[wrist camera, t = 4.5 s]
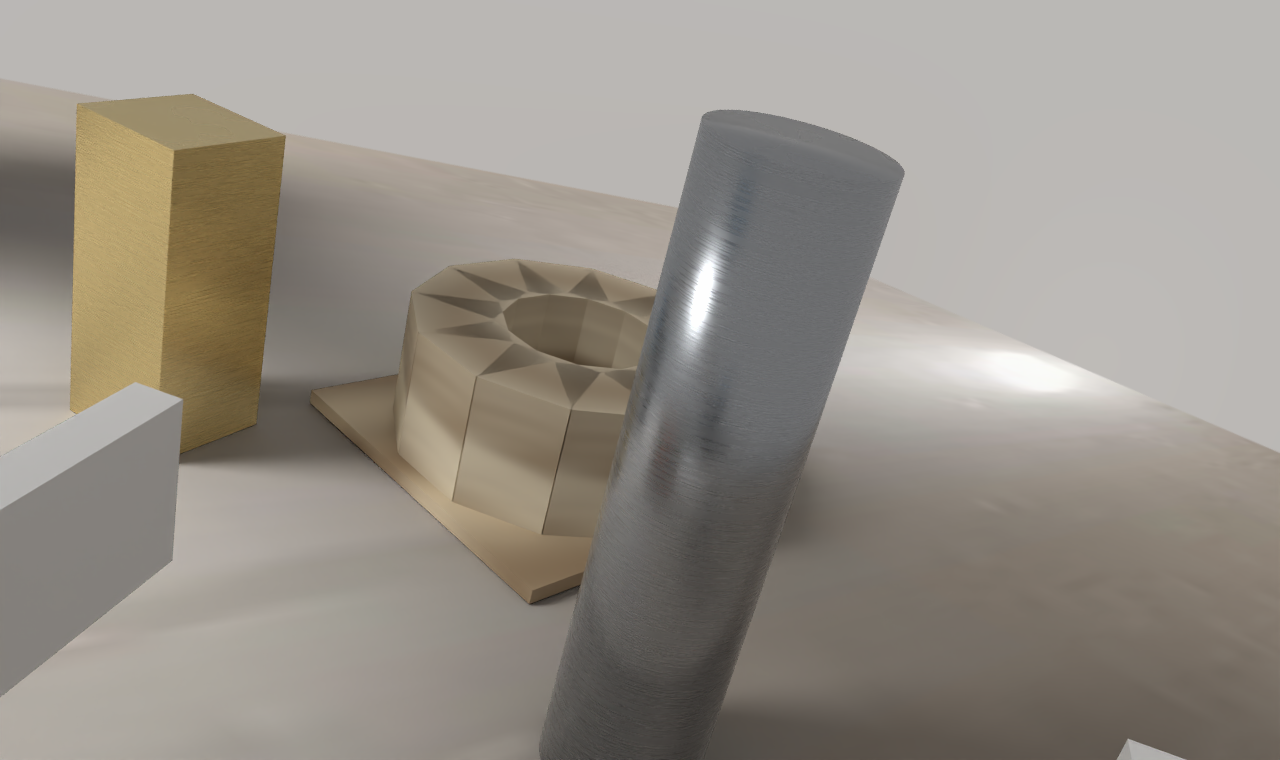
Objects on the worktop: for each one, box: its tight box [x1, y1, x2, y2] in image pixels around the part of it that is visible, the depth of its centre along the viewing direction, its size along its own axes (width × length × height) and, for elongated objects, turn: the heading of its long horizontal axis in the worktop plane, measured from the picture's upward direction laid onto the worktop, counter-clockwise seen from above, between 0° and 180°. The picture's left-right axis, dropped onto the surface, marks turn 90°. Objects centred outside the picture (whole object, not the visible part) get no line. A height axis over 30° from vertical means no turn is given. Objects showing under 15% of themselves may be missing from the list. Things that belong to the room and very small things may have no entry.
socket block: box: [310, 259, 657, 604], centre depth 40 cm, size 12×12×5 cm
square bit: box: [70, 94, 286, 454], centre depth 36 cm, size 4×4×10 cm
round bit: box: [539, 110, 904, 760], centre depth 26 cm, size 4×4×16 cm
